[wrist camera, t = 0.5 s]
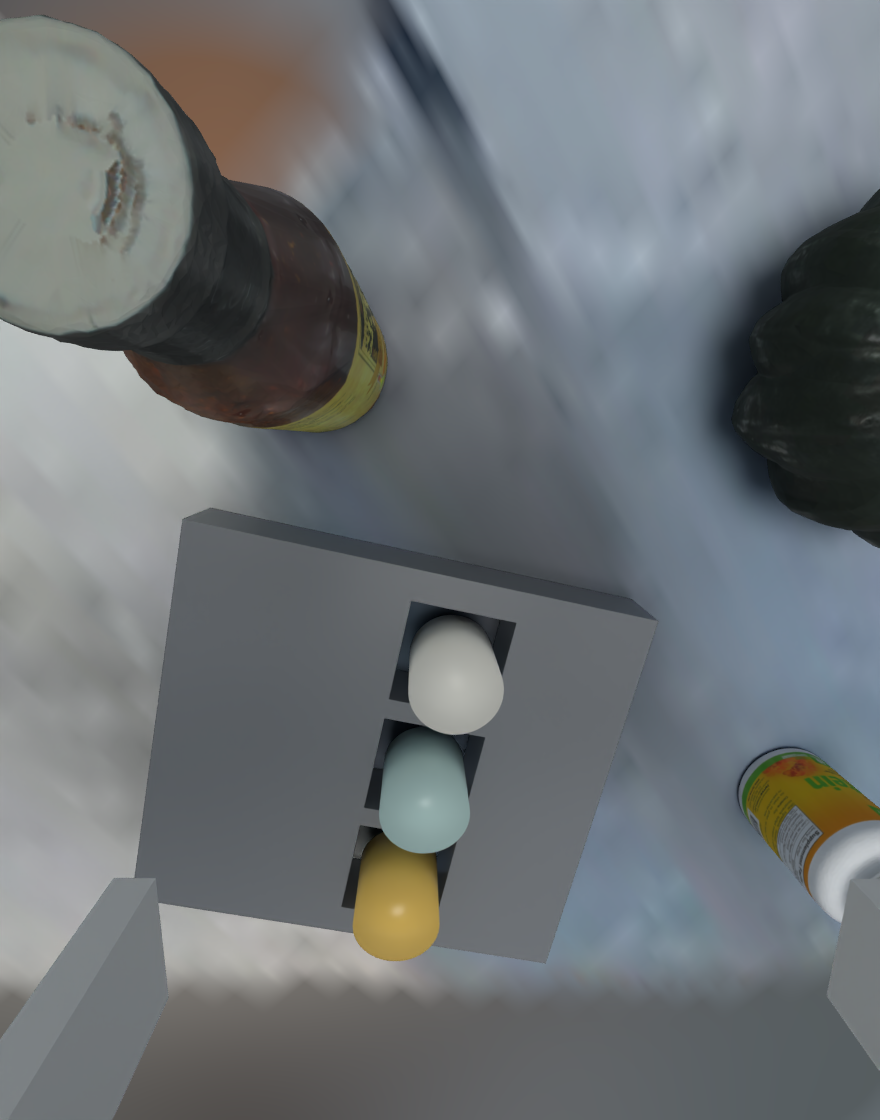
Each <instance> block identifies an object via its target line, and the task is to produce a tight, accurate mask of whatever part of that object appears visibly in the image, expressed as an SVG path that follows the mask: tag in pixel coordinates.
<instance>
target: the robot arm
mask: <svg viewBox="0 0 880 1120" xmlns="http://www.w3.org/2000/svg"><path fill="white" fill-rule="evenodd" d="M827 997H828V998H829V1000H830V1001H831V1003H832V1004H833V1005H834V1007H835V1008H836V1010H837V1011H838V1013H839V1014H840V1015H841V1017H842V1018H843V1020H844V1021H845V1022H846V1024H847V1025H848V1027H849V1028H850V1030H851V1031H852V1033H853V1034H854V1035H855V1037H856V1038H857V1040H858V1041H859V1043H860V1044H861V1045H862V1047H863V1048H864V1049H865V1051H866V1052H867V1054H868V1055H869V1057H870V1058H871V1060H872V1061H873V1063H874V1064H875V1065H876V1067H877V1068H878V1070H879V1071H880V879H850V884H849V889H848V894H847V898H846V903H845V908H844V913H843V918H842V923H841V928H840V933H839V938H838V942H837V947H836V952H835V957H834V962H833V967H832V972H831V977H830V982H829V986H828V991H827ZM167 1000H168V988H167V979H166V970H165V960H164V951H163V942H162V933H161V924H160V915H159V906H158V897H157V887H156V878H114V879H113V880H112V881H111V883H110V884H109V886H108V887H107V888H106V890H105V891H104V893H103V894H102V896H101V897H100V898H99V900H98V901H97V903H96V904H95V906H94V907H93V908H92V910H91V911H90V913H89V914H88V915H87V917H86V918H85V920H84V921H83V923H82V924H81V925H80V927H79V928H78V930H77V931H76V933H75V934H74V935H73V937H72V938H71V940H70V941H69V942H68V944H67V945H66V947H65V948H64V950H63V951H62V952H61V954H60V955H59V957H58V958H57V960H56V961H55V962H54V964H53V965H52V967H51V968H50V970H49V971H48V972H47V974H46V975H45V977H44V978H43V979H42V981H41V982H40V984H39V985H38V987H37V988H36V989H35V991H34V992H33V994H32V995H31V997H30V998H29V999H28V1001H27V1002H26V1004H25V1005H24V1006H23V1008H22V1009H21V1011H20V1012H19V1014H18V1015H17V1016H16V1018H15V1019H14V1021H13V1022H12V1024H11V1025H10V1026H9V1028H8V1029H7V1031H6V1032H5V1033H4V1035H3V1037H2V1038H1V1039H0V1120H112V1119H113V1117H114V1115H115V1113H116V1111H117V1109H118V1106H119V1104H120V1102H121V1100H122V1097H123V1096H124V1093H125V1091H126V1089H127V1087H128V1085H129V1082H130V1080H131V1078H132V1076H133V1074H134V1072H135V1069H136V1067H137V1065H138V1063H139V1061H140V1058H141V1056H142V1054H143V1052H144V1050H145V1048H146V1045H147V1043H148V1041H149V1039H150V1036H151V1035H152V1032H153V1030H154V1028H155V1026H156V1024H157V1022H158V1019H159V1017H160V1015H161V1013H162V1011H163V1009H164V1006H165V1004H166V1002H167Z"/></svg>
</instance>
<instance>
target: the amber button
mask: <svg viewBox="0 0 880 1120" xmlns="http://www.w3.org/2000/svg"><path fill="white" fill-rule="evenodd" d="M438 932H439V900H438V877H437V858H436V853H435V852H434V853H414V852H409V851H406V850H404V849H402V848H400V847H398V846H396V845H395V844H394V843H392V842H391V841H390V840H389V839H388V837H387V836H386V835H385V833H384V832H382V833H380V834H378V835H377V836H375V837H374V838H373V839H372V840H370V841H369V843H368V844H367V845H366V847H365V848H364V850H363V853H362V857H361V864H360V872H359V880H358V887H357V895H356V902H355V910H354V918H353V933H354V936H355V938H356V940H357V942H358V944H359V945H360V946H361V947H362V948H363V949H364V950H365V951H366V952H367V953H369V954H370V955H372V956H374V957H376V958H379V959H383V960H387V961H403V960H408V959H411V958H414V957H416V956H418V955H420V954H422V953H424V952H425V951H426V950H427V949H428V948H429V947H430V946H431V945H432V944H433V943H434V941H435V939H436V938H437V935H438Z"/></svg>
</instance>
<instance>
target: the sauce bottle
mask: <svg viewBox="0 0 880 1120" xmlns="http://www.w3.org/2000/svg"><path fill="white" fill-rule="evenodd" d="M0 319H2V320H3V321H5V322H7V323H10V324H12V325H14V326H16V327H19V328H21V329H23V330H25V331H28V332H31V333H35V334H38V335H42V336H47V337H51V338H54V339H56V340H58V341H59V342H65V343H72V344H76V345H79V346H82V347H86V348H92V349H98V350H109V351H123V352H124V354H125V356H126V357H127V358H128V360H129V361H130V362H131V363H132V365H133V367H134V368H135V369H136V370H137V372H138V374H139V376H140V377H141V378H142V379H143V380H144V381H145V382H146V383H147V384H148V385H149V386H150V387H151V388H152V389H153V390H154V391H155V392H156V393H157V394H159V395H161V396H163V397H165V398H167V399H168V400H170V401H171V402H173V403H175V404H178V405H180V406H182V407H184V408H185V409H186V410H188V411H191V412H193V413H195V414H197V415H200V416H202V417H206V418H209V419H212V420H217V421H222V422H229V423H233V424H236V425H239V426H245V427H252V428H261V429H278V430H293V431H306V432H326V431H332V430H336V429H340V428H343V427H345V426H347V425H349V424H352V423H354V422H355V421H356V420H358V419H359V418H360V417H362V416H363V415H364V414H365V413H367V412H368V411H369V410H370V409H371V408H372V407H373V406H374V404H375V402H376V400H377V399H378V398H379V395H380V392H381V390H382V387H383V384H384V381H385V376H386V371H387V352H386V345H385V341H384V338H383V335H382V333H381V330H380V328H379V326H378V324H377V322H376V320H375V318H374V316H373V314H372V312H371V310H370V308H369V305H368V304H367V301H366V299H365V297H364V294H363V292H362V291H361V289H360V287H359V285H358V282H357V281H356V279H355V277H354V276H353V274H352V271H351V269H350V267H349V266H348V264H347V262H346V261H345V259H344V257H343V255H342V253H341V251H340V249H339V247H338V245H337V243H336V242H335V240H334V239H333V237H332V236H331V234H330V232H329V231H328V230H327V228H326V227H325V226H324V224H323V223H322V222H321V221H320V220H319V219H318V218H317V217H316V216H315V215H314V214H313V213H312V212H311V211H310V210H309V209H308V208H306V207H305V206H304V205H303V204H302V203H300V202H299V201H297V200H295V199H294V198H292V197H290V196H288V195H286V194H284V193H282V192H280V191H277V190H274V189H271V188H267V187H263V186H258V185H253V184H247V183H242V182H237V181H232V180H228V179H227V178H225V177H224V176H222V175H221V173H220V171H219V169H218V166H217V164H216V158H215V156H214V155H213V153H212V152H211V150H210V149H209V147H208V145H207V144H206V142H205V140H204V138H203V136H202V134H201V133H200V131H199V129H198V128H197V126H196V125H195V124H194V122H193V121H192V120H191V119H190V118H189V117H188V116H187V115H186V114H185V113H184V111H183V110H182V109H181V107H180V106H179V105H178V104H177V102H176V101H175V100H174V99H173V97H172V96H171V95H170V94H169V92H167V91H166V90H165V89H164V88H163V87H162V86H161V85H160V84H159V82H158V81H157V80H156V78H155V77H154V76H153V75H152V73H151V72H150V71H149V70H148V69H147V68H145V67H144V66H143V65H142V64H141V63H140V62H139V61H138V60H136V58H135V57H133V56H132V55H131V54H130V53H128V52H127V51H126V50H124V49H123V48H122V47H120V46H119V45H118V44H116V43H114V42H112V41H110V40H108V39H106V38H105V37H104V36H102V35H101V34H99V33H98V32H96V31H93V30H89V29H87V28H84V27H81V26H78V25H76V24H73V23H69V22H64V21H60V20H57V19H54V18H51V17H48V16H46V15H36V16H29V17H19V18H7V19H2V20H0Z"/></svg>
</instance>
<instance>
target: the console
mask: <svg viewBox="0 0 880 1120" xmlns="http://www.w3.org/2000/svg"><path fill="white" fill-rule="evenodd" d="M411 601H414V602H419V603H424V604H429V605H433V606H438V607H443V608H448V609H452V610H457V611H462V612H467V613H472V614H476V615H481V616H486V617H491V618H495V619H500V623H499V627H498V631H497V635H496V638H495V642H494V646H493V651H494V654H495V657H496V660H497V663H498V666H499V669H500V672H501V675H502V679H503V683H504V695H503V700H502V703H501V706H500V708H499V710H498V712H497V713H496V715H495V716H494V717H493V718H492V719H491V720H490V721H489V722H488V723H487V724H486V725H484V726H483V727H481V728H479V729H477V730H475V731H473V732H470V733H466V734H470V736H469V740H468V743H467V747H466V751H465V755H464V759H463V762H464V769H465V777H466V784H467V791H468V799H469V806H470V819H469V823H468V826H467V828H466V830H465V832H464V834H463V835H462V836H461V837H460V838H459V840H458V841H456V842H455V843H454V844H453V845H451V846H450V847H448V848H446V849H444V850H441V851H439V852H438V856H437V877H438V900H439V932H438V935H437V938H436V939H435V941H434V943H433V944H432V945H431V946H438V947H444V948H451V949H457V950H463V951H470V952H476V953H482V954H489V955H495V956H502V957H508V958H514V959H521V960H527V961H533V962H540V963H546V961H547V958H548V955H549V952H550V949H551V946H552V943H553V940H554V937H555V933H556V930H557V927H558V924H559V921H560V918H561V915H562V912H563V909H564V906H565V903H566V900H567V897H568V894H569V891H570V888H571V885H572V882H573V879H574V876H575V873H576V870H577V867H578V864H579V861H580V858H581V855H582V852H583V849H584V846H585V843H586V839H587V836H588V833H589V830H590V827H591V824H592V821H593V818H594V815H595V812H596V809H597V806H598V803H599V800H600V797H601V794H602V791H603V788H604V785H605V782H606V779H607V776H608V773H609V770H610V767H611V764H612V761H613V758H614V755H615V752H616V749H617V745H618V742H619V739H620V736H621V733H622V730H623V727H624V724H625V721H626V718H627V715H628V712H629V709H630V706H631V703H632V700H633V697H634V694H635V691H636V688H637V685H638V682H639V679H640V676H641V673H642V670H643V667H644V664H645V661H646V658H647V655H648V651H649V648H650V645H651V642H652V639H653V636H654V633H655V630H656V627H657V624H658V620H656V619H655V618H654V617H653V616H652V615H650V614H649V613H648V612H647V611H645V610H644V609H643V608H642V607H641V606H639V605H638V604H637V603H636V602H634V601H633V600H632V599H628V598H624V597H619V596H615V595H610V594H605V593H601V592H596V591H591V590H587V589H582V588H578V587H573V586H568V585H564V584H559V583H555V582H550V581H545V580H541V579H536V578H532V577H527V576H522V575H518V574H513V573H508V572H504V571H499V570H495V569H490V568H485V567H481V566H476V565H472V564H467V563H462V562H458V561H453V560H449V559H444V558H439V557H435V556H430V555H425V554H421V553H416V552H412V551H407V550H402V549H398V548H393V547H389V546H384V545H379V544H375V543H370V542H366V541H361V540H356V539H352V538H347V537H342V536H338V535H333V534H329V533H324V532H319V531H315V530H310V529H306V528H301V527H296V526H292V525H287V524H282V523H278V522H273V521H269V520H264V519H259V518H255V517H250V516H246V515H241V514H236V513H232V512H227V511H223V510H218V509H213V508H209V509H207V510H204V511H202V512H199V513H197V514H194V515H192V516H189V517H187V518H184V519H183V520H182V527H181V535H180V542H179V549H178V557H177V564H176V572H175V579H174V587H173V594H172V602H171V609H170V617H169V624H168V632H167V639H166V647H165V654H164V662H163V669H162V677H161V684H160V691H159V699H158V706H157V714H156V721H155V729H154V736H153V744H152V751H151V759H150V766H149V774H148V781H147V789H146V796H145V804H144V811H143V819H142V826H141V833H140V841H139V848H138V856H137V863H136V871H135V878H156V887H157V897H158V903H164V904H170V905H176V906H183V907H189V908H195V909H202V910H208V911H215V912H221V913H227V914H234V915H240V916H246V917H253V918H259V919H266V920H272V921H278V922H285V923H291V924H297V925H304V926H310V927H317V928H323V929H329V930H336V931H342V932H348V933H353V918H354V910H355V902H356V895H357V887H358V880H359V872H360V864H361V860H359V859H353V853H354V849H355V844H356V840H357V836H358V831H359V827H360V825H363V826H369V827H374V828H380V829H382V827H381V824H380V820H379V808H380V798H381V788H382V778H383V770H382V769H377V768H373V766H374V762H375V757H376V753H377V748H378V744H379V740H380V735H381V731H382V727H383V722H384V718H386V719H391V720H397V721H402V722H407V723H412V724H418V725H423V726H426V725H425V724H423V723H422V722H421V721H420V720H419V719H418V717H417V716H416V715H415V713H414V711H413V710H412V707H411V705H410V701H409V696H408V684H409V672H405V671H399V670H396V665H397V661H398V657H399V652H400V648H401V644H402V639H403V635H404V630H405V626H406V622H407V617H408V613H409V609H410V604H411Z"/></svg>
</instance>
